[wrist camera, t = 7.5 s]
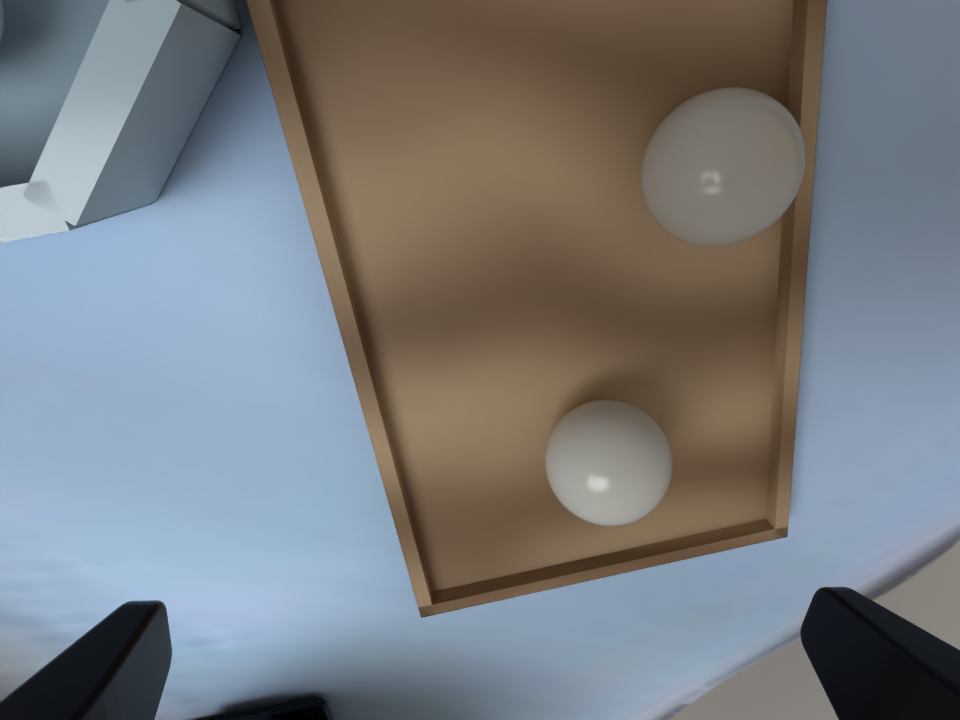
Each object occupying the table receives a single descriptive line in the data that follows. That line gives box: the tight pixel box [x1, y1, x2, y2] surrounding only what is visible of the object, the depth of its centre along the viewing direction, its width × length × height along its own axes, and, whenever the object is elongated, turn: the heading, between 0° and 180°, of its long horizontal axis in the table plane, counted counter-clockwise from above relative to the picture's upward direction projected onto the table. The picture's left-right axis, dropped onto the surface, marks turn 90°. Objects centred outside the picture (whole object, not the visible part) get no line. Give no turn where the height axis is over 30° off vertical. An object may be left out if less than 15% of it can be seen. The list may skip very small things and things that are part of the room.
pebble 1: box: [545, 400, 672, 526], centre depth 17 cm, size 4×4×4 cm
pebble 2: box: [641, 87, 805, 247], centre depth 14 cm, size 4×4×4 cm
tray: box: [246, 0, 827, 618], centre depth 17 cm, size 20×14×1 cm
